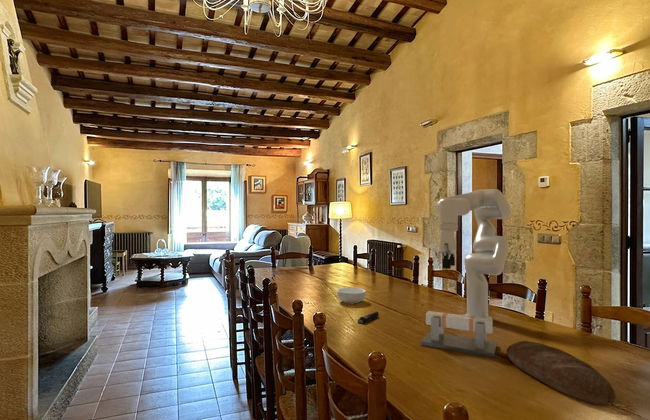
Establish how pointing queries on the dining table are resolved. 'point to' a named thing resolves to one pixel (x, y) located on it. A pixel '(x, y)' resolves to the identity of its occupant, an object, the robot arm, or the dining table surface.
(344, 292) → the cereal bowl
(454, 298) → the dining table surface
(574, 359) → the bread
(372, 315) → the electric trimmer
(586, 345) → the dining table surface
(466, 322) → the white and orange bar
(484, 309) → the robot arm
